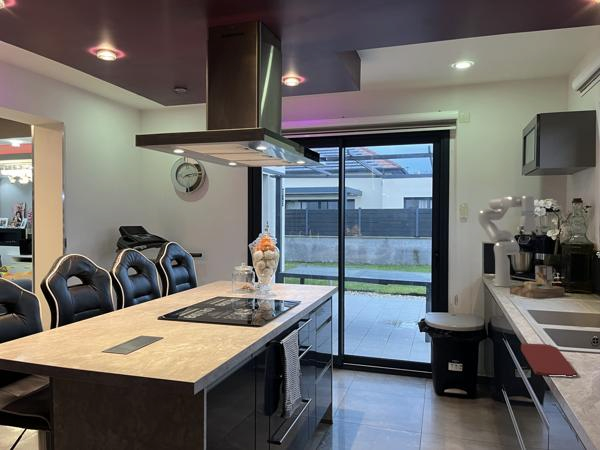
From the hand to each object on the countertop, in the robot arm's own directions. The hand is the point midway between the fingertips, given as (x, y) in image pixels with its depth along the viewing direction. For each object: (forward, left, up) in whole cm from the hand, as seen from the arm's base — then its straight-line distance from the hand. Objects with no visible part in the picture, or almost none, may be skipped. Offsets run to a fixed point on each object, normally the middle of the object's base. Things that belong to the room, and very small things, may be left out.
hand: (528, 240), depth 302 cm
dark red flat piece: (+115, -109, -35) cm, 163 cm away
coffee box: (-2, +16, -34) cm, 38 cm away
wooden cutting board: (+11, -4, -34) cm, 36 cm away
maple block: (+7, -5, -31) cm, 32 cm away
